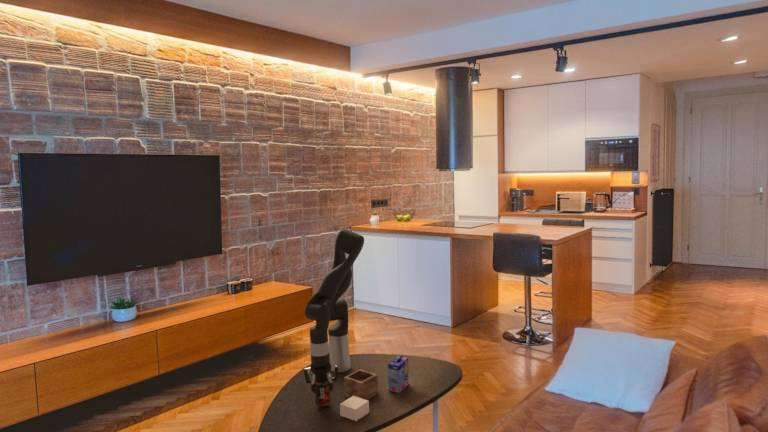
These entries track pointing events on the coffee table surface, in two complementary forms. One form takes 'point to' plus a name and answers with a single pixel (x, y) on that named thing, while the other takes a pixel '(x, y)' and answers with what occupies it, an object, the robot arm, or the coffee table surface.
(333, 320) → the robot arm
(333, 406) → the coffee table surface
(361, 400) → the offwhite block
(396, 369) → the ink cartridge box
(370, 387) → the wooden box
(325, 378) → the deodorant
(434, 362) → the coffee table surface
